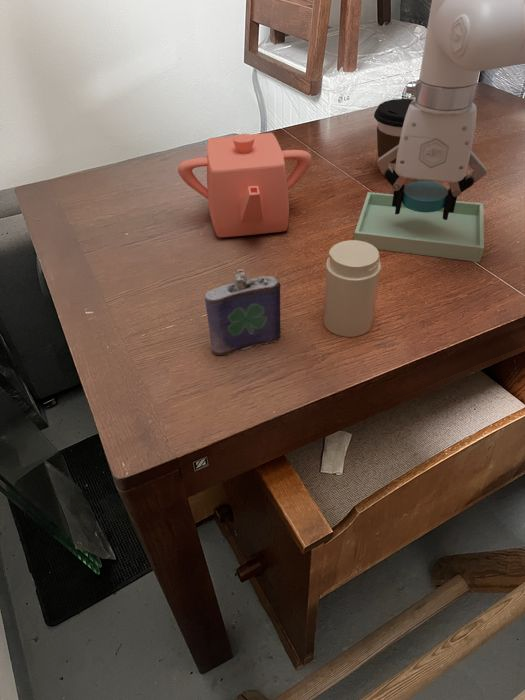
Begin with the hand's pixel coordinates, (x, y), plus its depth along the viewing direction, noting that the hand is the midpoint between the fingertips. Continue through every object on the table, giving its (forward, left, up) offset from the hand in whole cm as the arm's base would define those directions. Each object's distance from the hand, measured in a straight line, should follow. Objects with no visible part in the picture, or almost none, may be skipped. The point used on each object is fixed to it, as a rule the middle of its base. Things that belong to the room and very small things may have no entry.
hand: (421, 212), depth 81 cm
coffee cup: (+6, -22, -4) cm, 23 cm away
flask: (+19, +33, -4) cm, 38 cm away
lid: (0, 0, +3) cm, 3 cm away
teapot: (+28, +4, -4) cm, 28 cm away
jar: (+7, +26, -3) cm, 27 cm away
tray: (0, 0, -3) cm, 3 cm away
